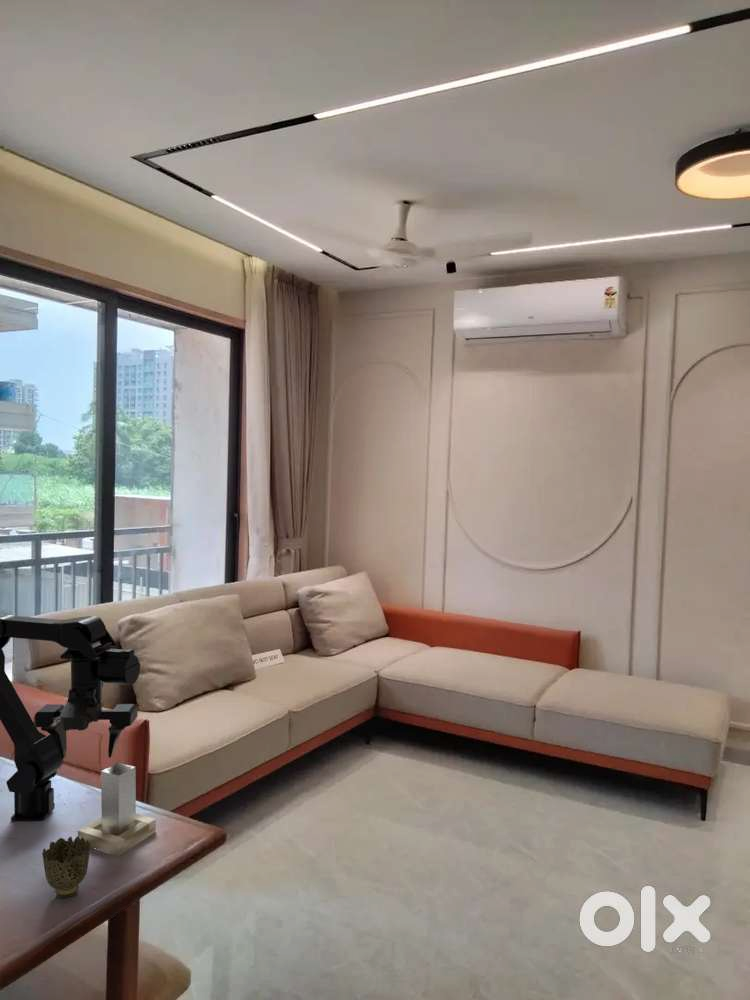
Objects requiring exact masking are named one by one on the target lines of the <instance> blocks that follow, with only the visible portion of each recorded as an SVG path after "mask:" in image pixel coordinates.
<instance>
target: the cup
mask: <svg viewBox="0 0 750 1000" xmlns="http://www.w3.org/2000/svg"><path fill="white" fill-rule="evenodd" d="M90 844H91V843H89V841H88V839H87V841H86V843H85V841H84V838H83V837H82V838H81V840H80V838H79V837H78V835H77V836H76V837H75V838H74V840H73V837H72V836H69V837H68V838H67V840H66V839H65V838H63V837H60V838H58V839H57V840H56V841H50V843H49V848H47V849H46V848H42V852H41V855H42V860H43V861H42V862H43V867H44V874H45V878H46V881H47V883H48V884H49V886H50V887H51V888H52V889H54V890H55V891H54V892H55V895H56V896H57V897H58V898H61V899H63V898H64V899H65V898H67V899H68V898H70V897H73V896H74V895H76V893H78V891H79V888H80V883H82V882H83V881H84V879H85V877H86V876H87V872H88V869H89V862H90V861H89V860H90V851H91V848H90Z"/></svg>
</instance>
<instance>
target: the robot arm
mask: <svg viewBox="0 0 750 1000" xmlns="http://www.w3.org/2000/svg"><path fill="white" fill-rule="evenodd" d="M11 638H12V639H13V638H14V639H23V640H24V639H25V640H35V641H36V640H37V641H46V642H47V641H48V642H53V643H56V644H57V645H59V646H60V647H62V648H66V650H65V651H64V652H63V653H62V654H61V655H60V659H62V660H70V689H69V690H68V697H67V698H68V699H67V701H66V703H65V705H64V704H59V703H58V704H50V703H49V704H45V705H44V706H42V707H41V709H39V710H38V711H37V712H36V713H35V714H34V717H33V719H32V717H31V715H30V714H29V712H28V710H27V708H26V707H25V705H24V704H23V702H22V700H21V698H20V696H19V694H18V693H17V691H16V689H15V688H14V685H13V684H12V682H11V680H10V678H9V676H8V675H7V673H6V671H5V669H6V666H5V665H6V664H5V663H6V656H5V653H4V650H3V648H4V647H6V645H8V643H9V642H10V640H11ZM97 644H99V645H97ZM95 645H97V646H95ZM93 646H95V647H93ZM140 672H141V663H140V659H139V658H138V656H137V655H135V649H133V648H125V649H119V648H118V644H117V643H116V641H115V639H114V638H113V637H112V636H111V634H110V632H109V631H108V629H107V628H106V625H105V623H104V621H103V620H102V618H101V617H99V616H95V615H89V616H87V615H86V616H79V617H73V618H67V619H55V618H44V617H33V616H31V617H30V616H22V615H21V616H19V615H13V614H9V613H8V614H4V615H1V616H0V722H1V724H2V725H3V727H4V730H5V731H6V733H7V735H8V736H9V737H10V740H11V741H12V744H13V745H14V751H13V752H14V755H13V756H14V757H13V760H14V765H15V767H16V771H15V773H14V774H12V776H11V777H10V778H9V779H7V780H6V787H7V789H8V792H10V793H13V794H14V795H13V796H14V797H13V798H14V799H13V800H14V801H13V803H14V806H13V807H14V809H13V810H14V814H13V815H12V816H10V821H43V820H44V819H45V818H46V817H47V816H48V815H49V813H50V812H51V811H52V810H53V809H54V807H55V806H56V805H55V804H56V803H55V796H54V795H55V789H54V787H52V778H54V777H56V776H57V772H58V770H59V769H60V768H61V767H62V765H63V761H64V759H65V758H66V756H67V732H68V731H69V730H70V731H72V730H73V731H76V730H77V731H85V730H86V729H88V728H89V724H91V723H96V722H99V721H107V720H108V721H109V724H110V726H109V727H108V733H109V739H108V747H107V748H108V749H107V751H108V758H109V759H110V758H112V757H113V754H114V751H115V748H116V746H117V744H118V741H119V738H120V735H121V733H122V731H123V730H125V729H126V728H128V727H130V726H132V725H133V723H134V722H135V721H136V719H137V718H138V706H136V704H135V703H118V704H116V706H114V708H113V709H103V707H104V701H103V698H102V697H103V696H102V695H103V691H102V690H103V687H104V684H117V685H128V686H130V685H131V686H132V685H134V684H135V683H136V682H137V680H138V678H139V676H140ZM38 728H40V730H41V732H40V731H39V730H38ZM43 731H44V732H47V733H48V735H46V734H43V733H42V732H43Z"/></svg>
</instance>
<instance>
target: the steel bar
mask: <svg viewBox="0 0 750 1000" xmlns="http://www.w3.org/2000/svg"><path fill="white" fill-rule="evenodd" d="M100 775H101V776H100V779H101V781H100V783H101V784H100V786H101V787H100V788H101V789H100V791H101V792H100V793H101V796H100V797H101V798H100V799H101V801H100V802H101V817H102V832H105V833H109V834H112V835H115V836H119V835H120V834H122V833H124V832H125V831H127V830H129V829H130V828H132V827H133V826H135V825H136V814H137V810H136V808H137V807H136V806H137V805H136V803H137V801H136V799H137V795H136V794H137V793H136V791H137V789H136V788H137V785H136V784H137V783H136V780H137V779H136V766H133V765H129V764H125V763H121V762H117V763H115V764H113V765H111V766H108V767H107V768H104V769H103V770H101V771H100Z"/></svg>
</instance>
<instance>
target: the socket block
mask: <svg viewBox="0 0 750 1000" xmlns="http://www.w3.org/2000/svg"><path fill="white" fill-rule="evenodd" d="M156 821H157V820H156V818H154V817H153V818H152V817H149V816H145V815H143V814H140V813H139V814H138V813H136V825H135V826H133V827H132V828H130V829H129V830H127V831H125V832H124V833H122V834H120V835H119V836H115V835H112V834H109V833H105V832H102V816H100V817H99V818H97V819H96V820H94V821H92V822H90V823H89V824H87V825H85V826H84V827H82V828H80V829H78V830H77V836H78V837H79V838H80V840H81V838H82V837H83V838H84V841H85V843H86V841H87V839H88V841H89V843H91V844H90V847H93V848H96V849H99V850H102V851H104V852H103V853H105V852H108V853H110V854H109V855H111V854H113V855H112V856H114V855H115V857H117V856H118V857H119V856H121V855H123V854H124V853H126V852H127V851H128V849H129V850H130V849H132V848H133V847H135V846H137V844H139V843H141V842H142V841H144V840H145V839H147V838H148V836H149V837H151V836H152V835H153V834H155V833H156V832H157V831H156V830H157V824H156V823H157V822H156ZM93 848H92V849H93ZM96 849H95V850H96ZM99 850H98V851H99ZM102 851H101V852H102ZM125 851H126V852H125ZM108 853H107V854H108ZM120 854H121V855H120Z"/></svg>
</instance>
